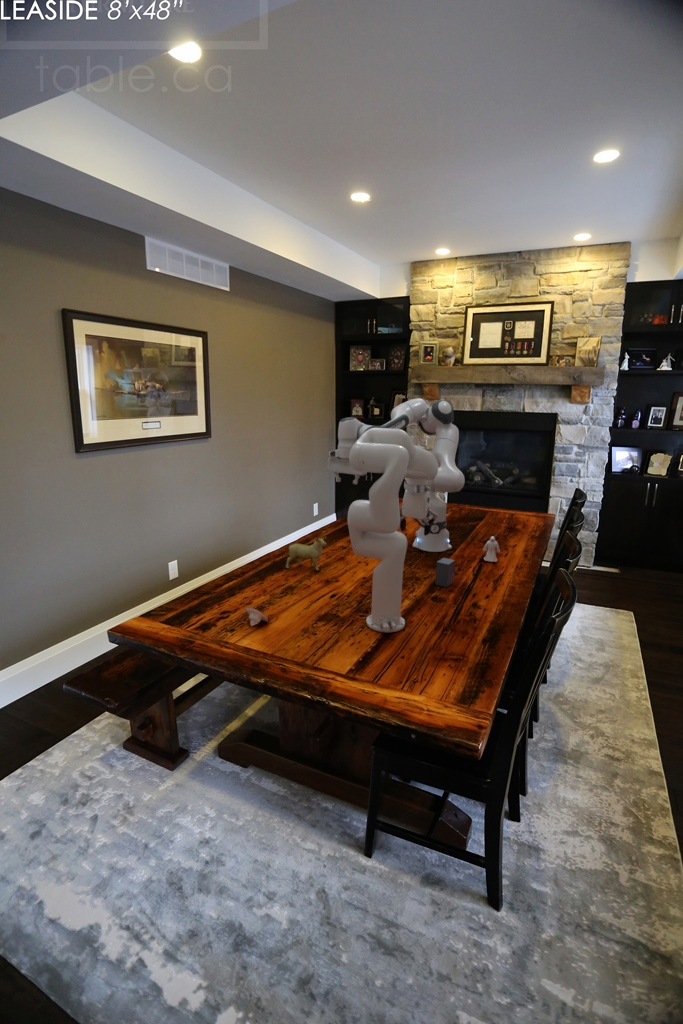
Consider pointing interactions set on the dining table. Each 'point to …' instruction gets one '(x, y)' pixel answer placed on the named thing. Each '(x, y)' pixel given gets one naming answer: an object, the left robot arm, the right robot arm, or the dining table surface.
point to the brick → (445, 572)
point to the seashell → (255, 616)
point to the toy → (306, 552)
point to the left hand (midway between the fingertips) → (414, 532)
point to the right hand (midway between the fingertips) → (346, 482)
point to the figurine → (491, 550)
